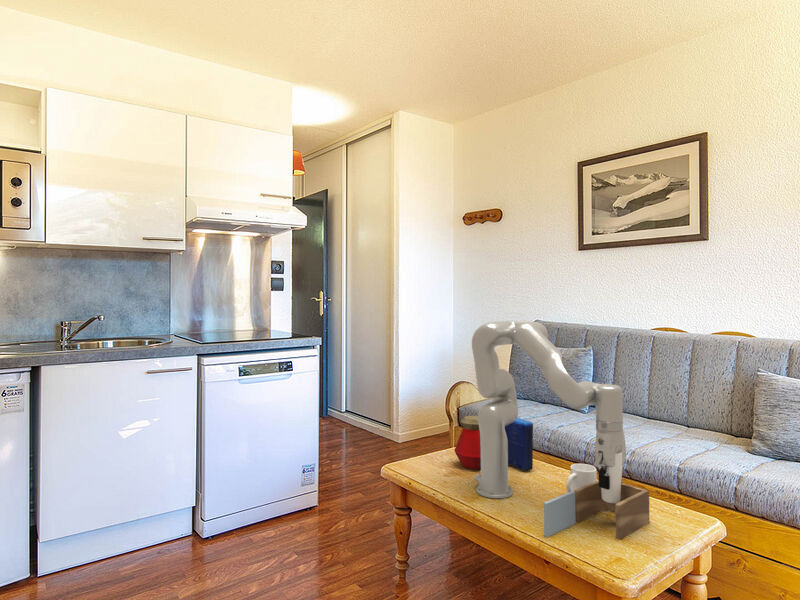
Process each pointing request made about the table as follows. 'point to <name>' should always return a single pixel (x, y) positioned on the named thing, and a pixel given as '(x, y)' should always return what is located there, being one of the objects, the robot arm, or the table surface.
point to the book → (520, 444)
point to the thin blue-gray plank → (559, 513)
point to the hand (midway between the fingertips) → (610, 484)
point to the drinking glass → (613, 481)
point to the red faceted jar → (469, 444)
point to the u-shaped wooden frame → (614, 507)
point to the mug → (581, 476)
